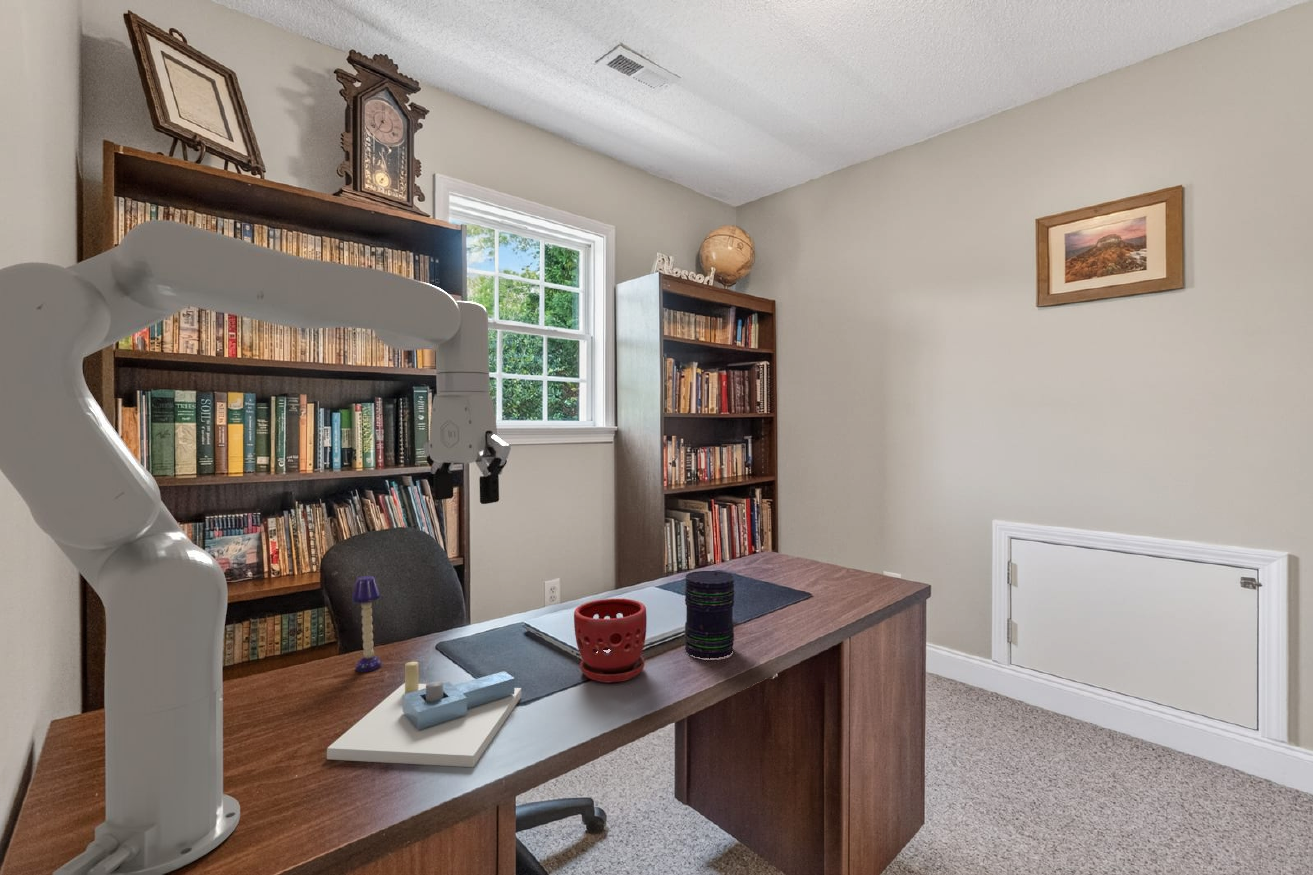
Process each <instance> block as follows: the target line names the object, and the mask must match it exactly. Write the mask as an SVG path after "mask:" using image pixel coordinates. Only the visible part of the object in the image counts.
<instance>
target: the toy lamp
mask: <svg viewBox="0 0 1313 875" xmlns="http://www.w3.org/2000/svg"><path fill="white" fill-rule="evenodd" d="M380 597H381V592H380V590H379V586H378V584H377V581H376V578H375V576H373V575H364V576H361V577H358V578H356V580H355V584H354V588H353V593H352V596H351V600H352V602H353V603H356V604H360V606H361V616H362V618H361V624H362V628H361V631H362V642H363V643H362V648H363V653H362V654H363V657H361V658H360V659H359V660H358V661H357V663H356V666H355V670H356V671H357V672H360V673H365V672H371V671H375V670H377V669H380V667H381V666H382V661H381V659H380V657H378V656H376V655H374V654H375V651H374V649H373V648H374V640H373V639H374V634H373V630H374V626H373V624H372V623H373V616H372V614H373V609H372V605H373V602H374V601H377V600H379V599H380Z"/></svg>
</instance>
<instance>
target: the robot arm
mask: <svg viewBox="0 0 1313 875" xmlns="http://www.w3.org/2000/svg"><path fill="white" fill-rule="evenodd" d="M189 307H192V308H196V309H201V310H205V311H210V312H211V311H212V312H216V313H222V314H228V315H233V316H237V317H242V318H247V319H251V320H256V321H261V322H265V323H269V324H274V325H278V326H282V327H289V328H293V329H294V328H296V329H297V328H298V329H311V330H312V329H314V330H315V329H328V328H329V329H330V328H331V329H332V328H334V329H335V328H353V329H363V330H364V329H365V330H372V331H374V334H375V336H376V337H377V338H378V339H379V340H380V342H382V343H383V344H384V345H385V346H387V347H390V348H391V349H395V350H399V351H418V350H419V351H420V350H434V351H435V373H436V374H435V376H436V377H435V378H436V384H435V385H436V396H433V401H432V404H431V405H432V406H431V411H430V421H429V440H428V441H426V442H425V443H424V444H423V445H422V446H423V447H422V449H423V452H424V454H425V457H426V462H427V464H428V466H429V467H430V473H431V474H433V498H434V500H435V501H442V500H447V499H452V498H454V495H455V494H454V474H453V471H452V472H451V469H452V467H453V465H454V464H473V463H475V464H476V466H477V468H478V469H479V471H480V472H481V474H482V475H481V476H479V479H478V480H479V502H480V504H481V505H487V504H494V503H498V502H499V501H500V487H499V486H500V485H499V484H500V482H499V481H500V480H499V476H500V475H502V474H503V469H504V468H505V466H506V465H507V462H508V460H507V459H508V457H509V456H510V455H509V454H510V452H511V450H512V449H511V445H510V444H508V443H507V442H505V441H504V440H502V439H501V438H500V437H499V436H498V428H497V427H498V426H497V419H496V412H495V406H494V400H493V397H492V395H490V394H491V393H490V390H491V388H490V383H491V382H490V352H489V350H490V349H489V348H490V346H489V341H490V340H489V314H488V311H487V309H486V308H485V306H483V304H480V303H477V302H473V301H468V300H467V301H466V300H465V301H464V300H455V299H454V298H453V297H452V296H451V295H450V294H449V293H447V292H446V291H445V290H443V289H442V288H440V287H437V286H435V285H432V284H431V283H427V282H424V281H421V280H417V279H414V278H411V277H407V276H403V275H401V274H397V273H394V272H390V271H385V270H381V269H377V268H371V267H365V266H359V265H351V264H350V265H349V264H345V263H340V262H339V263H337V262H334V261H328V260H320V259H312V258H307V257H302V256H298V255H294V254H290V253H288V252H285V251H281V250H278V249H275V248H270V247H268V246H267V247H266V246H263V245H260V244H256V243H254V242H250V241H246V240H242V239H240V238H236V237H232V236H230V235H226V234H222V233H219V232H215V231H213V230H208V229H207V228H206V229H204V228H201V227H198V226H195V225H191V224H187V223H185V222H180V221H176V220H169V219H151V220H146V221H143V222H141V223H139V224H137V225H136V226H134V227H133V228H131V229H130V230H129V231H128V232H127V233H126V234H125V235H124V237H123V238H122V239H121V241H120V243H119V244H118V245H117V246H115V247H112V248H111V249H108V250H106V251H104V252H101V253H99V254H97V255H95V256H93V257H89V258H87V259H85V260H81V261H80V262H77V263H74V264H72V265H69V266H67V267H64V266H61V265H57V264H53V263H48V262H39V261H38V262H34V261H33V262H31V261H30V262H24V263H23V262H22V263H17V264H13V265H10V266H6V267H3V268H1V269H0V471H1V472H2V474H3V475H4V477H5V478H6V479H7V480H8V482H9V483H10V484H11V485H12V487H13V488H14V489H15V490H16V492H17V493H18V494H19V495H20V497H21V498H22V500H23V501H24V502H25V504H26V505H27V506H28V509H29V512H30V515H31V516H32V518H33V520H34V522H35V523H36V525H37V526H38V528H40V529H41V530H42V531H43V532H44V533H45V534H47V536H49V537H50V538H51V540H53V542H54V543H55V544H56V545H57V546H58V548H59V549H60V550H61V552H63V554H64V555H65V556H66V558H67V559H68V560H69V561H70V562H71V563H72V565H73V566H74V567H75V569H76V570H77V571H78V572H79V573H80V575H81V576H82V577H83V578H84V579H85V580H86V581H87V583H88V584H89V586H91V588H92V589H93V590H94V591H95V593H96V594H97V595H98V596H99V598H100V600H101V602H102V605H103V607H104V612H105V628H106V629H105V637H106V638H105V657H104V711H105V712H104V716H105V720H104V725H105V726H104V727H105V729H104V730H105V731H104V732H105V734H104V736H105V737H104V738H105V740H104V741H105V743H104V744H105V745H104V746H105V747H104V748H105V755H104V756H105V760H104V761H105V820H104V821H102V822H101V823H99V824H98V825H97V826H95V827H94V840H93V841H92V842H90V843H89V844H88V845H87V847H86V849H85V851H83V852H82V853H81V854H79V855H76V856H75V857H74V858H71V860H70V859H69V861H68V862H66V863H64V864H62V866H60V867H59V868H57V869H56V870H54V871H53V873H52V874H51V875H165V874H168V873H171V872H173V871H175V870H178V869H180V868H183V867H184V866H187V865H189V864H191V863H192V862H194V861H196V860H199V858H202V857H203V856H205V855H207V854H208V853H210V852H211V851H212V850H214V849H216V848H217V847H218V846H219V845H221V844H222V843H223V842H224V841H225V840H226V839H228V837H229V836H230V835H231V834H232V833H233V832H234V831H235V829H236V828H237V826H238V824H239V822H240V818H241V805H240V803H239V801H238V800H237V799H236V798H234V797H232V796H231V795H228V794H224V751H223V750H224V729H223V728H224V718H223V717H224V716H223V715H224V709H223V708H224V696H223V695H224V692H223V690H224V688H223V687H224V686H223V685H224V684H223V683H224V681H223V653H224V652H223V651H224V650H223V649H224V634H225V624H226V617H227V616H226V615H227V610H228V597H229V595H228V594H229V592H228V591H229V590H228V583H227V579H226V576H225V572H224V570H223V569H222V567H221V565H220V563H219V562H218V561H217V560H216V559H215V557H213V556H212V555H211V554H210V552H208V551H206V550H204V549H203V548H202V547H200V546H199V545H196V544H194V543H193V542H192V541H191V539H190V538H189V537H188V535H187V534H186V533H185V531H184V530H183V529H182V527H181V526H180V525H179V523H178V521H177V520H176V519H175V518H174V516H173V515H172V513H171V512H170V511H169V509H168V507H167V506H166V505H165V503H164V502H163V501H162V496H161V490H160V488H159V485H158V483H157V480H155V478H154V476H153V475H152V474H151V473H150V471H148V470H147V468H145V467H144V466H143V465H142V463H141V462H140V461H139V460H138V459H137V457H136V456H135V455H134V453H133V452H132V451H131V450H130V448H129V447H128V446H127V444H126V443H125V441H124V440H123V439H122V437H121V436H120V435H119V433H118V432H117V431H116V430H115V428H114V426H113V425H112V424H111V422H110V421H109V419H108V418H107V416H106V415H105V413H104V411H103V409H102V408H101V406H100V405H99V403H98V402H97V401H96V399H95V397H94V395H93V394H92V393H91V391H90V390H89V387H88V385H87V383H86V379H85V376H84V373H83V371H84V370H83V362H84V358H86V357H88V356H90V355H92V354H94V353H96V352H98V351H101V350H103V349H105V348H107V347H109V346H111V345H113V344H116V343H117V342H120V341H122V340H124V339H127V338H129V337H130V336H133V335H135V334H137V333H141V332H142V331H143V330H146V329H148V328H150V327H152V326H154V325H157V324H158V323H160V322H163V321H164V320H166V319H168V318H170V317H173V316H174V315H176V314H178V313H180V312H181V311H184V310H185V309H187V308H189Z"/></svg>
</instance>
